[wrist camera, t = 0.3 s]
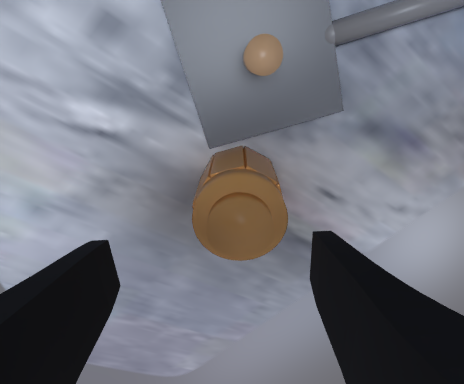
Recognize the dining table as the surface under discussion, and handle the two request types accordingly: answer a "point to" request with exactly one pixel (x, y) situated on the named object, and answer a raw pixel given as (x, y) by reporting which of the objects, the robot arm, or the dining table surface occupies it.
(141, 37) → the dining table surface
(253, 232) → the wire nut
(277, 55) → the gray square paddle
